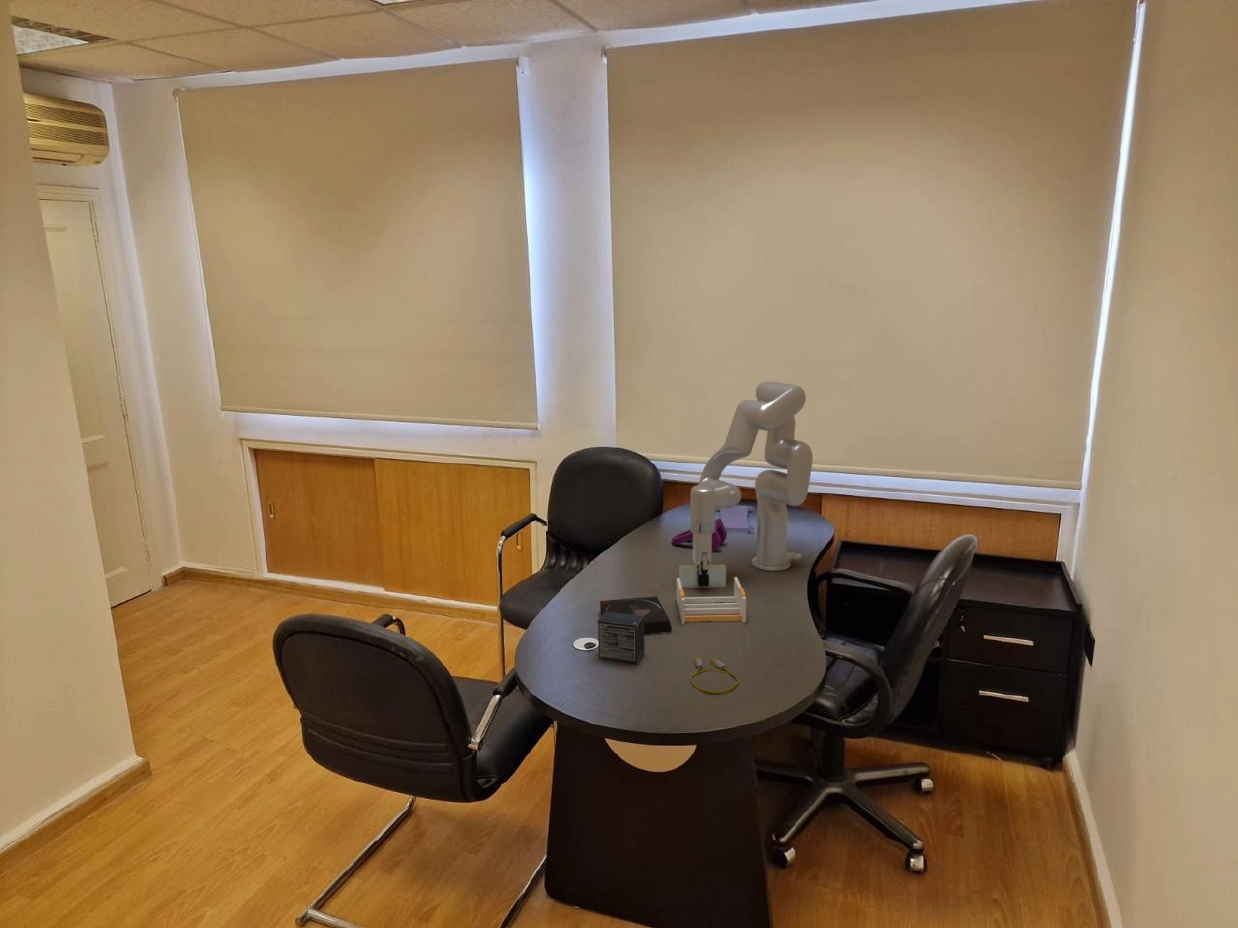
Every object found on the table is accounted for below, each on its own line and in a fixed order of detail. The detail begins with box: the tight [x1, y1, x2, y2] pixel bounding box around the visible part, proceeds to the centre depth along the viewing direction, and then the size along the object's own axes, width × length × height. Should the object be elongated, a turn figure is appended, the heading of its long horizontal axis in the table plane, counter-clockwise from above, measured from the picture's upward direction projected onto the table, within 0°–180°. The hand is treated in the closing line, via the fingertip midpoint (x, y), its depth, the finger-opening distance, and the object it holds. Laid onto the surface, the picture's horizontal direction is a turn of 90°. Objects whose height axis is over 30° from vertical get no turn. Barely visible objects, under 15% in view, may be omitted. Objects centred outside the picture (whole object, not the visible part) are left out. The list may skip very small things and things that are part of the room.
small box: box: [597, 612, 645, 665], centre depth 202 cm, size 11×6×10 cm, turn 71°
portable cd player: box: [599, 595, 673, 635], centre depth 222 cm, size 16×17×4 cm
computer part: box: [718, 505, 755, 534], centre depth 309 cm, size 30×4×15 cm
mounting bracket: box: [671, 517, 728, 553], centre depth 283 cm, size 10×8×18 cm
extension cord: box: [689, 656, 740, 695], centre depth 192 cm, size 12×16×2 cm
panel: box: [678, 564, 727, 589], centre depth 247 cm, size 14×2×6 cm, turn 91°
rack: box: [676, 576, 747, 625], centre depth 228 cm, size 18×16×8 cm
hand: (702, 582), depth 247 cm, fingers open, 4 cm apart
